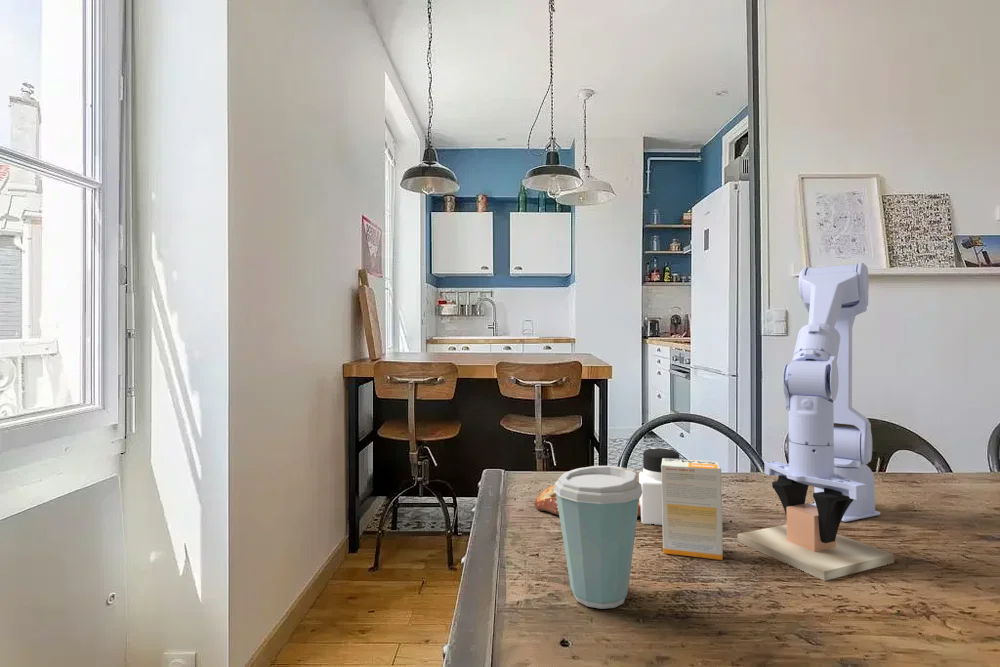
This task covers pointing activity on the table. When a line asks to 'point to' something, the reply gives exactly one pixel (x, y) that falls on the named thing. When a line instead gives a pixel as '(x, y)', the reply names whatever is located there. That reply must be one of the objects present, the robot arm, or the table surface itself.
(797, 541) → the salmon pink cube
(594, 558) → the disposable coffee cup
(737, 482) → the table surface
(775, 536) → the post board
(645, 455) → the medicine bottle
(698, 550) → the supplement box
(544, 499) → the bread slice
